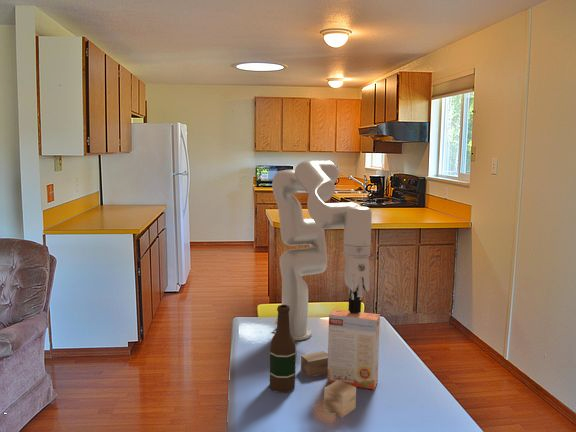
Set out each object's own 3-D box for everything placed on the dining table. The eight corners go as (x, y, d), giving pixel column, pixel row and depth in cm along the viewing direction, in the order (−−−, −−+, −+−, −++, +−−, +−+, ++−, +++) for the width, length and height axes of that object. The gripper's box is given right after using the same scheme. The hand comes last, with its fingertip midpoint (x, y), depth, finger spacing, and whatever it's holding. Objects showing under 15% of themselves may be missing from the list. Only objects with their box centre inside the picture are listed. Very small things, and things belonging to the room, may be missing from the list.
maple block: (323, 409, 131) (324, 387, 130) (337, 400, 136) (337, 379, 135) (342, 417, 127) (343, 395, 126) (355, 408, 132) (356, 387, 131)
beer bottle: (265, 382, 145) (265, 303, 142) (290, 378, 148) (291, 300, 144) (274, 395, 138) (274, 312, 134) (300, 390, 141) (301, 309, 137)
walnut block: (300, 370, 153) (301, 355, 153) (323, 365, 157) (323, 350, 156) (308, 377, 149) (308, 361, 148) (331, 372, 152) (331, 357, 152)
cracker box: (378, 381, 147) (380, 313, 144) (374, 391, 141) (377, 320, 138) (332, 373, 151) (333, 307, 148) (326, 382, 146) (328, 313, 143)
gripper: (378, 255, 134) (375, 320, 137) (361, 244, 149) (359, 303, 152) (351, 256, 133) (349, 321, 136) (337, 244, 148) (335, 304, 150)
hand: (354, 311), depth 144 cm, fingers closed
